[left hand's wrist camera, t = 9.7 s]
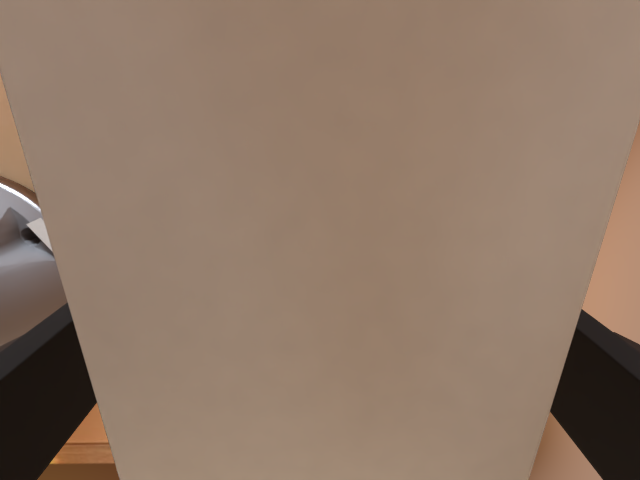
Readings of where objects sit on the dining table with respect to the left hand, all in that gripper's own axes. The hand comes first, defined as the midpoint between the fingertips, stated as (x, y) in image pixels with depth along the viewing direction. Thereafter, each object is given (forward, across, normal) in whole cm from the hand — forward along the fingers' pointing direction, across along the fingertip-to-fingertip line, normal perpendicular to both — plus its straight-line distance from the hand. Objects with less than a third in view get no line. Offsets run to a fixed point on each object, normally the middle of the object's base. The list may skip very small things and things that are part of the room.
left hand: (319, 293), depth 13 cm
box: (+5, 0, -10) cm, 11 cm away
